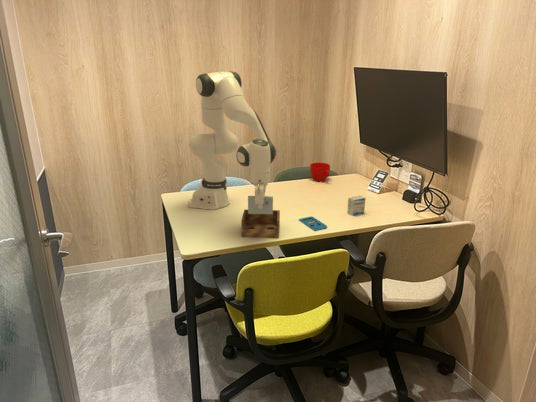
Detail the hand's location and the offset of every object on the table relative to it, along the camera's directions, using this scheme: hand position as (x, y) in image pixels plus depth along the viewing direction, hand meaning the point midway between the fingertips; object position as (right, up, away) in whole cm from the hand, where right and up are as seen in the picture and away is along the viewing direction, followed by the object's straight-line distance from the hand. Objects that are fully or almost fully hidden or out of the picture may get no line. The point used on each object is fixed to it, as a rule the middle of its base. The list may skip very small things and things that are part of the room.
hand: (260, 206), depth 176 cm
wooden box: (0, -11, +10) cm, 15 cm away
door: (0, -3, +1) cm, 3 cm away
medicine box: (+49, -4, +30) cm, 58 cm away
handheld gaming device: (+26, -9, +17) cm, 32 cm away
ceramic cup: (+38, +16, +81) cm, 91 cm away
